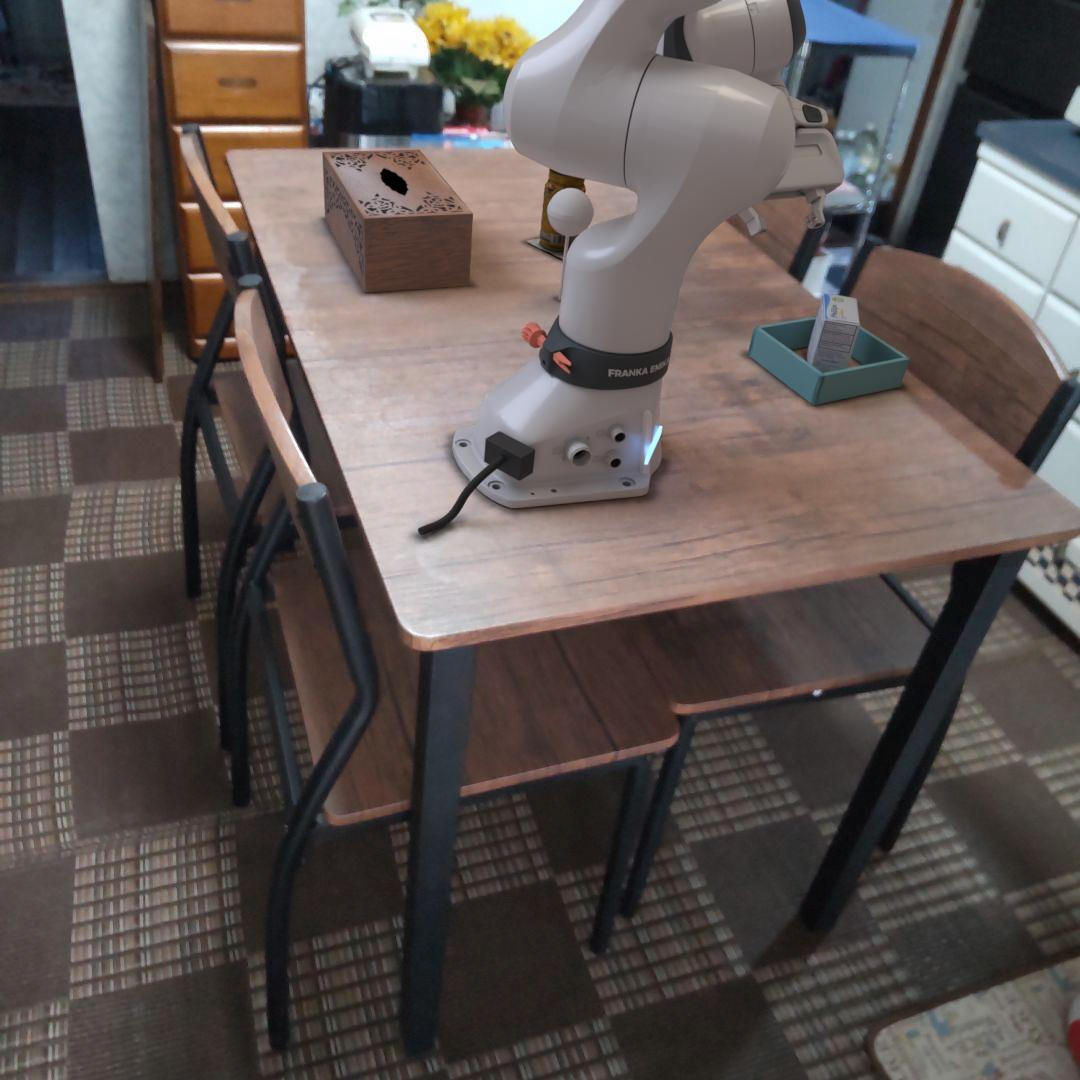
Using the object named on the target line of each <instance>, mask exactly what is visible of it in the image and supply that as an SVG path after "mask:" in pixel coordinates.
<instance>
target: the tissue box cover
mask: <svg viewBox="0 0 1080 1080" xmlns="http://www.w3.org/2000/svg"><path fill="white" fill-rule="evenodd" d="M321 153H322V154H321V155H322V178H323V202H324V203H323V205H324V220H325V222H326V224H327V226H328V228H329V230H330V231H331V233H332V235H333V237H334V239H335V241H336V242H337V244H338V246H339V248H340V250H341V251H342V253H343V255H344V257H345V259H346V261H347V262H348V264H349V266H350V268H351V270H352V272H353V273H354V275H355V277H356V279H357V281H358V282H359V284H360V286H361V288H362V290H363V292H364V293H365V294H370V293H372V294H373V293H382V292H383V293H384V292H386V293H387V292H398V291H415V290H426V289H441V288H454V287H468V286H470V281H471V260H472V243H473V226H474V213H473V212H472V210H471V209H470V207H468V205H466V203H465V202H464V201H463V199H461V197H460V196H459V195H458V194H457V193H456V191H455V190H454V189H453V187H452V186H451V185H450V184H449V183H448V182H447V181H446V179H445V178H444V177H443V175H441V173H440V172H439V171H438V170H437V169H436V167H435V166H434V165H433V164H432V163H431V161H430V160H429V159H428V158H427V157H426V156H425V154H424V153H423V152H422V151H421V150H420V149H387V150H386V149H384V150H383V149H382V150H380V149H379V150H341V151H340V150H338V151H322V152H321Z"/></svg>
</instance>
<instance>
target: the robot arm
mask: <svg viewBox="0 0 1080 1080" xmlns="http://www.w3.org/2000/svg"><path fill="white" fill-rule="evenodd" d="M806 38H807V24H806V19H805V14H804V10H803V6H802V3H801V0H583V1H581V3H580V5H579V6H578V7H577V8H576V10H574V12H573V13H572V14H571V15H570V16H569V17H568V18H567V20H566V21H564V23H562V24H561V25H560V26H559V27H558V28H557V29H555V30H554V31H552V32H551V33H550V34H548V35H546V37H544V38H542V39H541V40H539V41H536V42H535V43H533V44H532V45H531V46H530V47H529V48H527V49H526V50H525V51H524V52H523V54H522V55H521V56H520V57H519V58H518V59H517V61H516V63H515V64H514V65H513V66H512V69H511V71H510V73H509V75H508V78H507V81H506V83H505V88H504V91H503V92H504V93H503V98H502V114H503V115H502V116H503V123H504V127H505V130H506V134H507V136H508V138H509V140H510V143H511V145H512V146H513V149H515V151H516V152H517V153H518V154H519V155H521V156H523V157H525V158H527V159H529V160H531V161H532V162H535V163H537V164H539V165H541V166H543V167H546V168H548V169H552V170H554V171H557V172H559V173H561V174H565V175H569V176H574V177H578V178H582V179H585V180H587V181H591V182H596V183H600V184H605V185H609V186H614V187H618V188H623V189H627V190H629V191H630V192H634V193H635V194H636V196H637V200H636V206H635V211H634V212H632V213H629V214H627V215H623V216H619V217H615V218H610V219H607V220H604V221H601V222H599V223H596V224H594V225H591V226H588V228H587V229H586V230H584V231H583V232H582V233H580V234H579V235H578V236H577V237H576V239H575V240H574V241H573V243H572V244H571V246H570V248H569V250H568V253H567V256H566V263H565V271H564V280H563V289H562V297H561V300H560V305H559V314H558V315H557V316H556V318H555V320H554V321H553V323H552V325H551V327H550V328H549V331H548V333H547V332H546V331H545V330H544V329H542V328H541V327H540V325H539V324H538V323H537V322H535V321H530V322H528V323H526V324H525V325H524V327H522V331H521V338H522V339H523V340H524V341H525V342H527V343H528V345H529V346H530V347H531V348H533V349H538V348H540V349H539V352H538V355H537V356H535V357H534V358H532V359H531V360H530V361H529V362H527V363H526V364H524V365H523V366H522V367H520V368H519V369H518V370H517V371H515V372H514V373H513V374H511V375H510V376H509V377H507V378H506V379H504V380H503V381H502V382H500V383H499V384H498V385H496V386H495V387H494V388H492V389H490V390H489V391H488V392H487V393H486V394H485V396H484V397H483V398H482V401H481V403H480V405H479V406H480V407H479V409H478V412H477V417H476V420H475V423H474V424H471V425H470V424H469V425H468V426H464V427H462V428H459V429H457V430H456V431H455V432H454V435H453V438H452V440H453V441H452V444H451V445H452V447H451V450H452V454H453V457H454V460H455V462H456V464H457V466H458V467H459V469H460V470H461V472H462V473H463V475H464V476H465V477H466V479H468V481H469V482H468V483H467V485H466V486H465V487H464V488H463V490H462V491H461V492H460V494H459V496H458V498H457V499H456V501H455V503H454V504H453V506H452V507H451V509H450V510H449V511H448V512H447V513H446V514H445V515H443V516H442V517H441V518H440V519H438V520H435V521H432V522H430V523H428V524H425V525H423V526H420V527H418V528H417V533H418V534H419V536H423V537H424V536H425V535H427V534H430V533H432V532H435V531H438V530H440V529H442V528H445V527H446V526H447V525H449V524H450V523H451V522H452V521H454V520H455V519H456V518H457V517H458V515H459V514H460V512H461V511H462V509H463V508H464V506H465V504H466V503H467V501H468V500H469V498H470V496H471V494H473V493H474V491H475V490H476V489H477V490H478V491H479V492H480V493H482V494H483V495H484V496H486V497H487V498H488V499H490V500H492V501H494V502H495V503H497V504H499V505H501V506H503V507H506V508H509V509H522V508H533V507H542V506H553V505H562V504H563V505H564V504H575V503H585V502H595V501H603V500H604V501H605V500H615V499H624V498H625V499H626V498H635V497H643V496H645V495H647V494H648V493H649V490H650V483H651V477H652V476H653V474H654V473H655V472H656V471H657V470H658V468H659V466H660V465H661V462H662V460H663V450H662V444H661V435H662V431H663V426H662V425H660V414H661V413H660V410H661V395H662V386H663V378H664V377H665V376H666V374H667V373H668V370H669V365H670V359H671V355H672V347H673V342H674V335H673V332H672V330H671V329H672V325H673V319H674V315H675V311H676V306H677V303H678V298H679V294H680V291H681V289H682V288H681V287H682V284H683V281H684V278H685V274H686V272H687V268H688V266H689V265H690V262H691V260H692V259H693V256H694V255H695V253H696V252H697V250H698V248H699V247H700V246H701V245H702V243H704V241H705V240H706V239H707V237H709V235H710V234H711V233H712V232H713V231H714V230H715V229H717V228H718V227H719V226H720V225H722V224H723V223H724V222H726V221H727V220H729V219H730V218H732V217H733V216H735V215H737V216H739V218H740V219H741V220H742V221H743V222H744V223H745V224H746V226H747V229H748V233H749V235H750V236H760V235H764V234H765V233H766V232H767V231H768V225H767V224H766V218H765V216H763V215H762V216H759V214H758V213H757V211H756V210H755V208H754V206H756V205H757V204H759V203H761V202H766V201H775V200H788V199H797V198H805V200H806V201H805V202H806V204H807V205H810V208H809V214H807V215H806V216H804V219H805V222H806V223H807V224H806V226H807V228H808V229H811V230H812V229H819V228H821V227H822V226H824V225H825V224H826V219H825V216H824V211H823V210H824V207H825V202H826V198H827V195H828V194H830V193H831V192H833V191H835V190H836V189H837V188H839V187H840V186H841V185H842V184H843V182H844V179H845V169H844V166H843V160H842V157H841V155H840V151H839V148H838V146H837V143H836V141H835V138H834V136H833V134H832V133H831V132H830V131H829V130H828V129H826V128H824V127H826V126H827V124H828V123H829V117H828V114H827V111H826V110H825V109H824V108H822V107H820V106H816V105H812V104H809V103H807V102H804V101H802V100H800V99H798V98H796V97H794V96H790V94H789V93H790V92H789V90H788V88H787V86H786V84H785V83H784V81H783V78H782V70H783V69H785V68H788V67H789V66H790V64H791V63H792V61H793V60H794V59H795V57H796V56H797V54H798V53H799V50H800V49H801V48H802V46H803V44H804V43H805V41H806Z"/></svg>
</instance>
